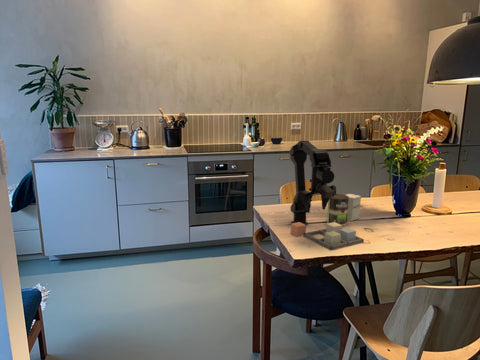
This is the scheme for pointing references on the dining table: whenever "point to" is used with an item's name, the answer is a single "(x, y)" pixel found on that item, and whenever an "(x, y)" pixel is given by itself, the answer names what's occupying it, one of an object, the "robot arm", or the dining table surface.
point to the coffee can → (338, 209)
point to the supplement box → (353, 207)
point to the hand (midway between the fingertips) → (316, 211)
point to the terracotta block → (298, 229)
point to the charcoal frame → (335, 236)
